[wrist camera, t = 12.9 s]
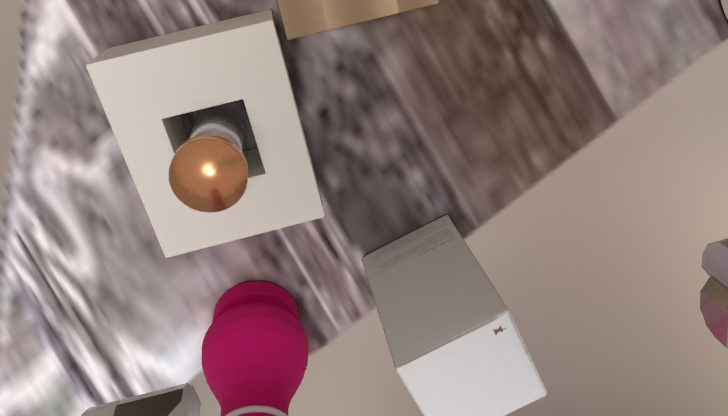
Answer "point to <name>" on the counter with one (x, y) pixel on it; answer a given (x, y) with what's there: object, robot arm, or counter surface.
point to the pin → (212, 161)
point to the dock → (203, 90)
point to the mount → (338, 13)
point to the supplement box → (449, 326)
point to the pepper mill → (255, 350)
